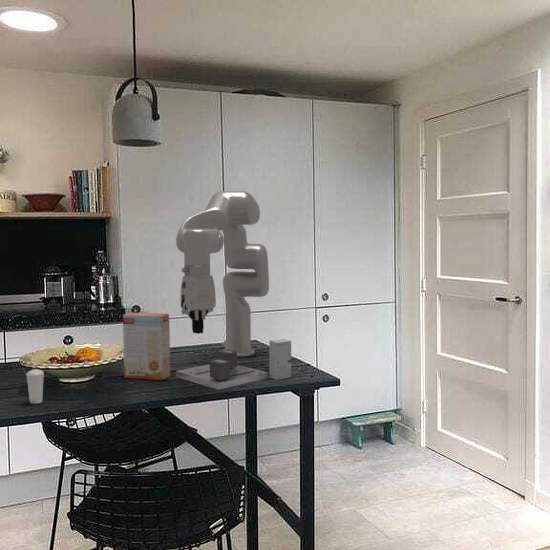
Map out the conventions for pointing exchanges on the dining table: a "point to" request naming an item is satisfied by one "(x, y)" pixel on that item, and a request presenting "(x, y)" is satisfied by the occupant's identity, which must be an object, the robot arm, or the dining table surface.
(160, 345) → the cracker box
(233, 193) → the robot arm
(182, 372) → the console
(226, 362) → the fader
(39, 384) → the milkshake
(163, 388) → the dining table surface
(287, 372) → the skincare box
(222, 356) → the fader
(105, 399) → the dining table surface
